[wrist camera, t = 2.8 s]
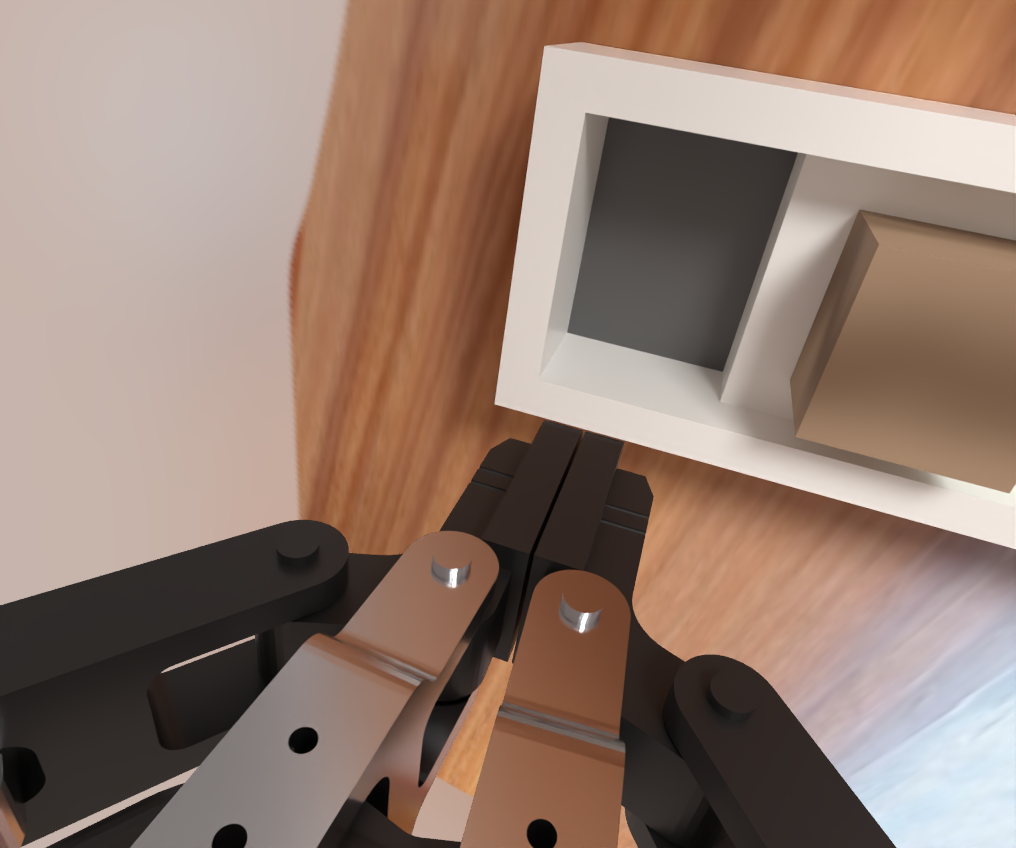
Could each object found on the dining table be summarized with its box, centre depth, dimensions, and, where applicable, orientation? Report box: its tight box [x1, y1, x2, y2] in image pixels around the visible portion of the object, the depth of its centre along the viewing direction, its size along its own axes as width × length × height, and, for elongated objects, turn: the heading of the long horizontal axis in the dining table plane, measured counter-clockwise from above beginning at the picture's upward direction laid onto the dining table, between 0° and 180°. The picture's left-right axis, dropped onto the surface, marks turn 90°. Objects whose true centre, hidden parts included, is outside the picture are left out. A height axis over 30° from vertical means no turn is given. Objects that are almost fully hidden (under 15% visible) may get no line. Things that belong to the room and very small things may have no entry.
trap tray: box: [495, 42, 1016, 549], centre depth 22 cm, size 12×32×5 cm, turn 82°
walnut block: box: [790, 209, 1016, 493], centre depth 20 cm, size 6×6×4 cm
